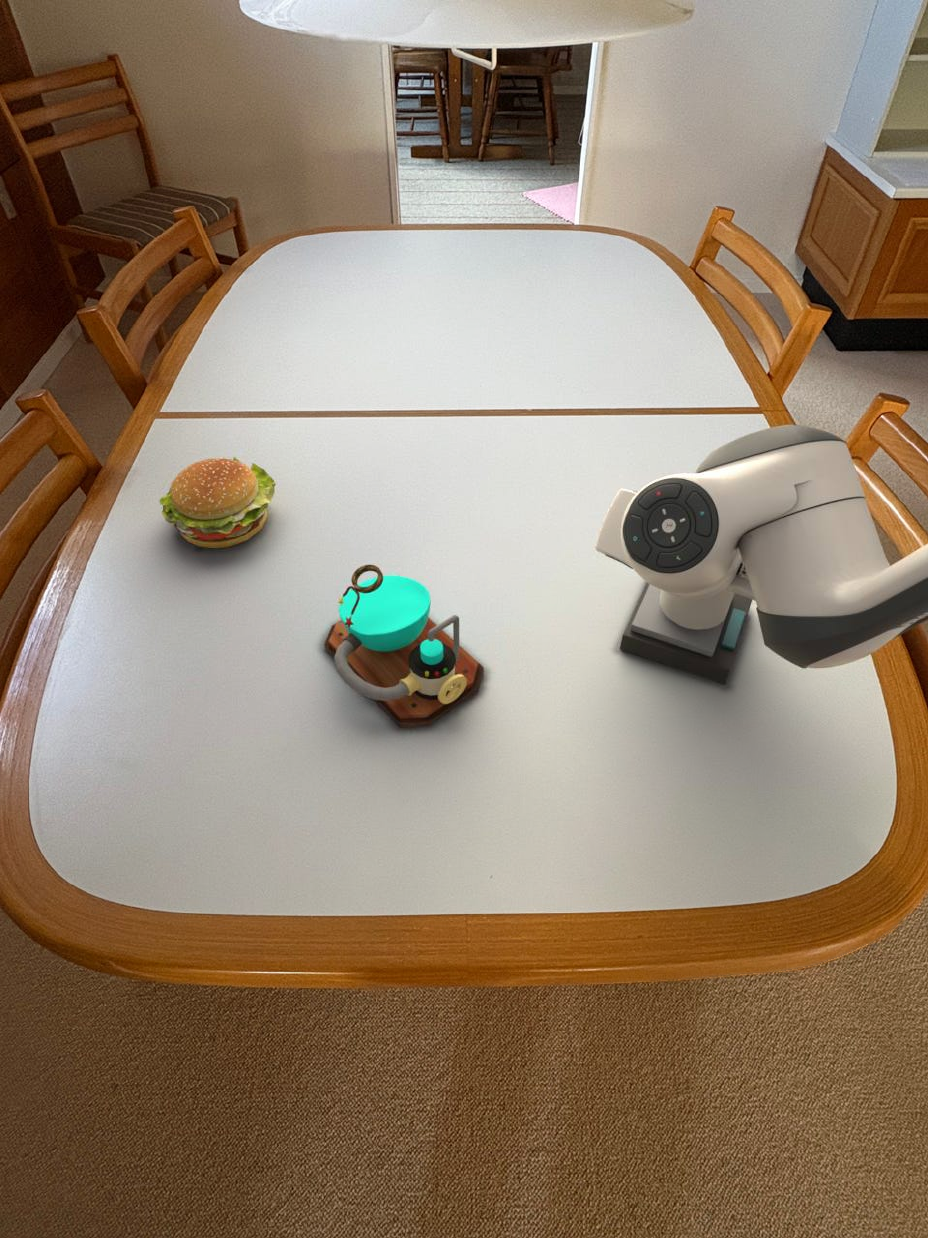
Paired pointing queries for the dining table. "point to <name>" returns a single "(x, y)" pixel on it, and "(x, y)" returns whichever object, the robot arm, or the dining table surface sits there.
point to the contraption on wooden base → (400, 650)
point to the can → (697, 609)
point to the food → (218, 502)
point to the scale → (685, 637)
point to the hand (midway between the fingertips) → (705, 565)
